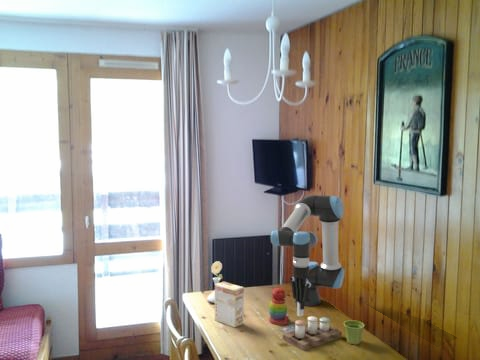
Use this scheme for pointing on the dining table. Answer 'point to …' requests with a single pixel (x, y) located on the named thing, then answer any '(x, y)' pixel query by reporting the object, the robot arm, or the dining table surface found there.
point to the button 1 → (300, 328)
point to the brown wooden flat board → (312, 338)
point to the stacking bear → (278, 307)
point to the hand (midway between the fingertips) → (300, 315)
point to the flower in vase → (215, 269)
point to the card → (288, 328)
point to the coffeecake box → (229, 304)
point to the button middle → (312, 325)
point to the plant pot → (353, 331)
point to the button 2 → (324, 324)
